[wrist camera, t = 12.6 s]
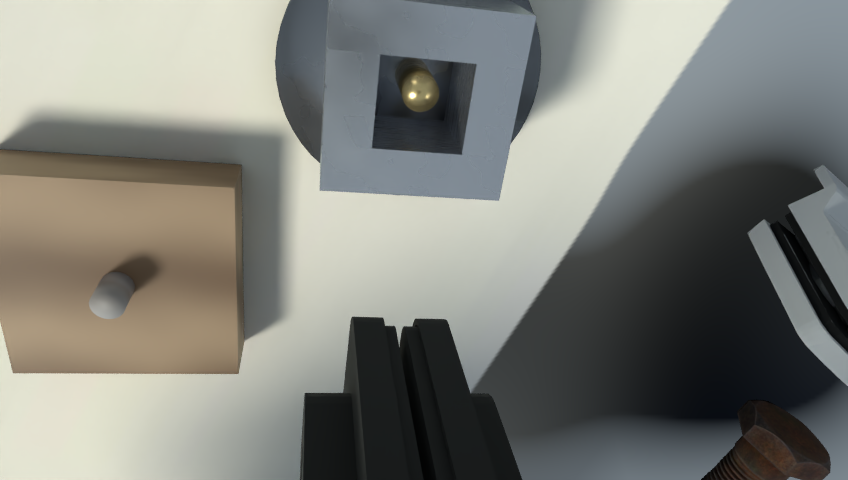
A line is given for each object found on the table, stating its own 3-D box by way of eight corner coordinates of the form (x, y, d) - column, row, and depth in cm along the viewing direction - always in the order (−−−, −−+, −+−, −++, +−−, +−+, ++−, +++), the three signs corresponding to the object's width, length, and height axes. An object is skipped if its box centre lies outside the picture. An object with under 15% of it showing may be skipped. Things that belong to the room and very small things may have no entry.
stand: (244, 341, 32) (234, 395, 29) (34, 339, 30) (-3, 396, 27) (241, 164, 28) (229, 203, 24) (-7, 148, 26) (-58, 188, 22)
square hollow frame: (506, -2, 24) (536, 16, 21) (477, 162, 28) (498, 200, 24) (328, -23, 23) (329, -8, 20) (320, 151, 26) (319, 190, 23)
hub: (506, 190, 30) (529, 229, 27) (275, 176, 28) (268, 217, 25) (558, -57, 25) (595, -48, 21) (279, -96, 23) (270, -94, 19)
